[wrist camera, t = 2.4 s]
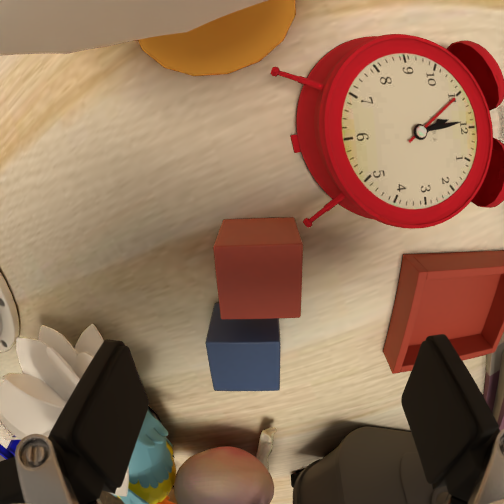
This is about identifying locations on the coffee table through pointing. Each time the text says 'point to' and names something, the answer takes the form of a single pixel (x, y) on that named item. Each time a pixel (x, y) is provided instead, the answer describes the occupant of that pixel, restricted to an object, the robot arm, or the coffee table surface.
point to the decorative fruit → (223, 478)
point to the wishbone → (265, 445)
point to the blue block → (243, 353)
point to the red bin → (447, 305)
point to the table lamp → (151, 29)
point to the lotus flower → (46, 382)
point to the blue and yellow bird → (151, 465)
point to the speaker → (368, 472)
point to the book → (495, 383)
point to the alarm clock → (402, 129)
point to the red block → (259, 268)
